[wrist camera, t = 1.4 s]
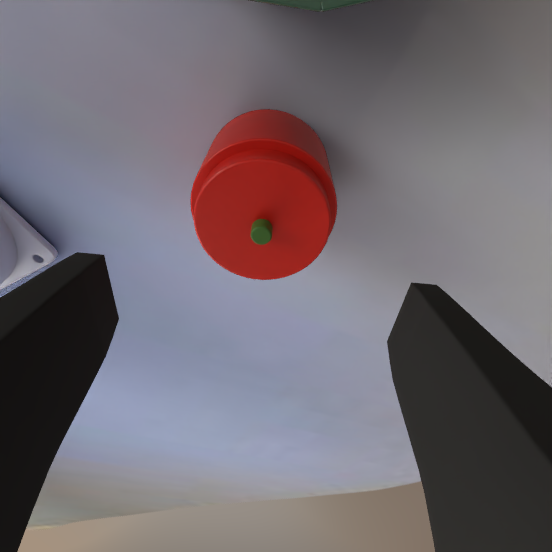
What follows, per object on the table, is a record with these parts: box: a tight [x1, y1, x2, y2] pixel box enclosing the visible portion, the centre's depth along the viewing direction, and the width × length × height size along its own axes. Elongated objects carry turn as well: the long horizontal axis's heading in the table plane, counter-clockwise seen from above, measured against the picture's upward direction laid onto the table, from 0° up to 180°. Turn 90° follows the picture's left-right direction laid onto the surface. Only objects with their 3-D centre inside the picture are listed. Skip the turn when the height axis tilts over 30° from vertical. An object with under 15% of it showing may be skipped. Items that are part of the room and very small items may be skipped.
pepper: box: [191, 109, 337, 280], centre depth 14 cm, size 5×5×6 cm
